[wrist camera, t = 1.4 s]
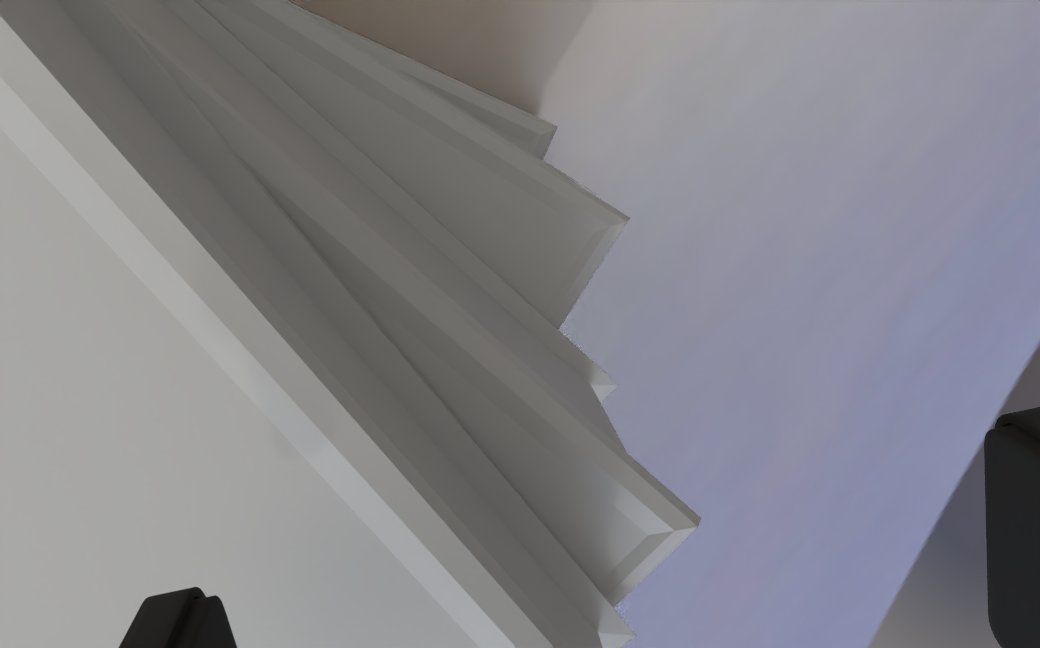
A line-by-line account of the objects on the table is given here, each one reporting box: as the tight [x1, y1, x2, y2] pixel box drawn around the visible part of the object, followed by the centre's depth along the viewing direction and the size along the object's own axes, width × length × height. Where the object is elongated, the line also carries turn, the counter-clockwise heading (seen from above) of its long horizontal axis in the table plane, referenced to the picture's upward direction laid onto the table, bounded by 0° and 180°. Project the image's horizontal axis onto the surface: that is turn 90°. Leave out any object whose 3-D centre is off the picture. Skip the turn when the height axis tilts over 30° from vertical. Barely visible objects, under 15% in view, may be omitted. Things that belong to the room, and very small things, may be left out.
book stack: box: [0, 0, 701, 648], centre depth 25 cm, size 30×35×26 cm
